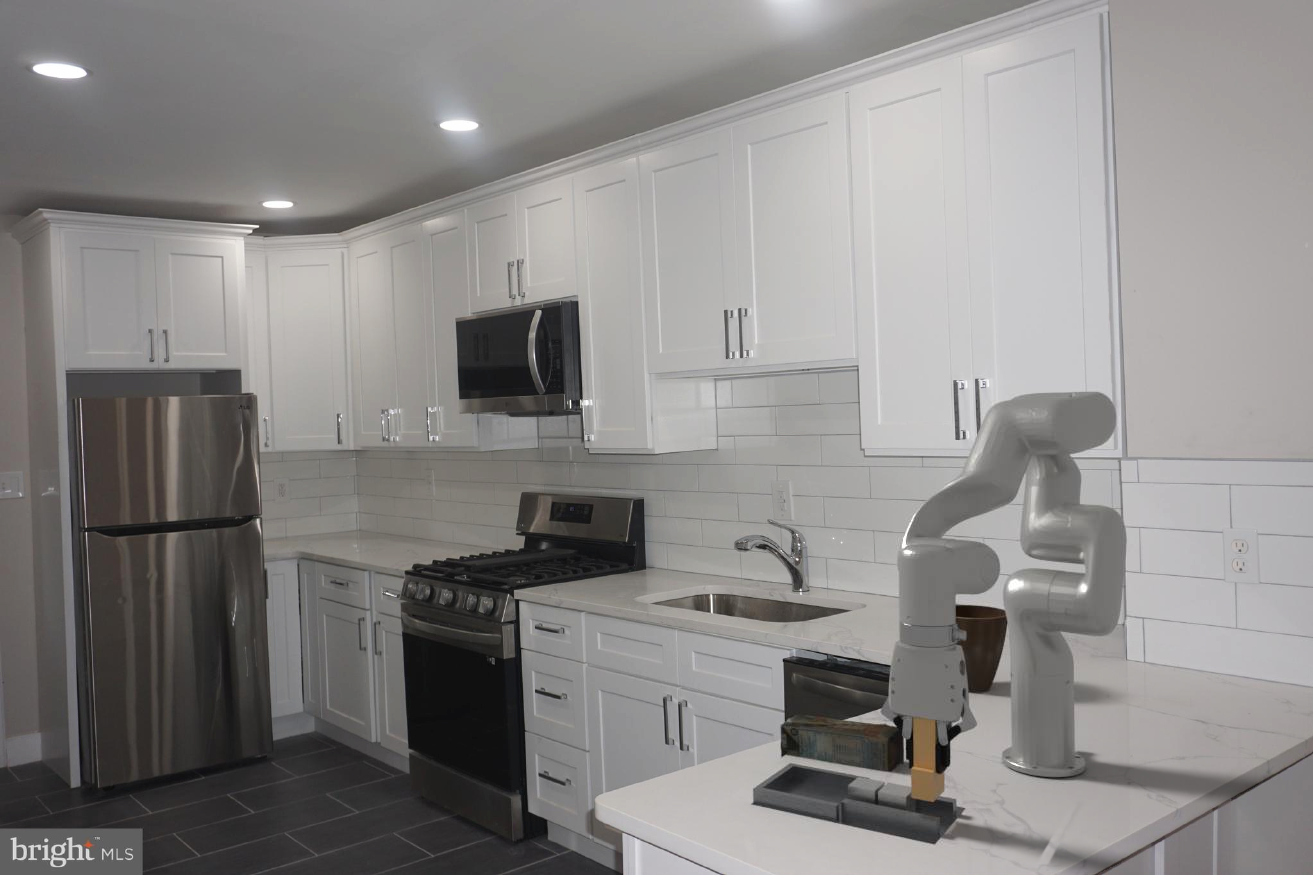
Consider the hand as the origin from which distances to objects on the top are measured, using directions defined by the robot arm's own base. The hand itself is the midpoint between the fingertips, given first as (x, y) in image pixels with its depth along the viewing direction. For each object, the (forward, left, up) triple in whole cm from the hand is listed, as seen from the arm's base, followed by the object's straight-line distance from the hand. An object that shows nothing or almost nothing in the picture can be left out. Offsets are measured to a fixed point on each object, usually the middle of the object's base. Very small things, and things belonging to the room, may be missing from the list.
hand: (928, 767), depth 137 cm
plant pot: (-74, -15, -9) cm, 76 cm away
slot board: (0, -11, -8) cm, 14 cm away
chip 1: (0, -9, -8) cm, 12 cm away
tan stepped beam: (0, 0, -4) cm, 4 cm away
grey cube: (0, -5, -8) cm, 9 cm away
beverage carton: (-19, -21, -9) cm, 30 cm away
